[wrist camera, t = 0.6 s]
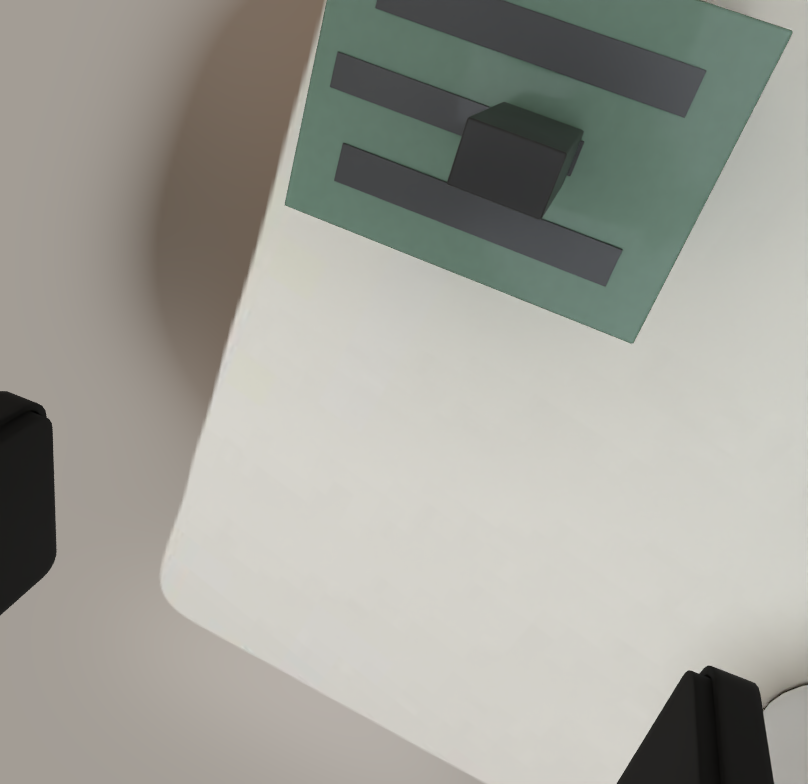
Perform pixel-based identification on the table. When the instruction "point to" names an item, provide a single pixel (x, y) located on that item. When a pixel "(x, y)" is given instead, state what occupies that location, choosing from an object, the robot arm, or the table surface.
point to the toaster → (548, 96)
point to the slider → (514, 158)
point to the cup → (788, 736)
